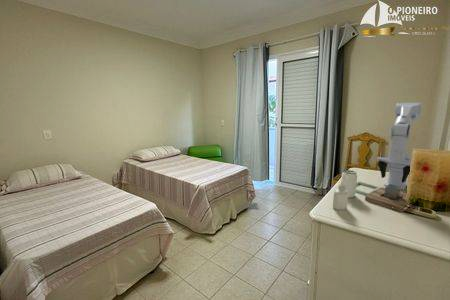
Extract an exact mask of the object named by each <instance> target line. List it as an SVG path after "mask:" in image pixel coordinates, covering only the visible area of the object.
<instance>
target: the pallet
mask: <svg viewBox="0 0 450 300" xmlns="http://www.w3.org/2000/svg"><path fill="white" fill-rule="evenodd" d="M384 194H385V187H384V186H383V187H381V188H380V189H378V190H376V191H374V192H372V193H370V194H368V195H365V197H364V200H365V201H366V202H370V203H372V204H376V205H380V206H382V207H385V208H387V209H392V210H394V211H398V212H401V213H404V212H405V211H404V208H405V207H406V206H407V205H409V204H410V202H407V201H406V194H407V193H405V192H402V191H400V195H399V201H395V200H392V199H388V198H385V197H384ZM392 207H393V208H392Z"/></svg>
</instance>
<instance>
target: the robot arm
mask: <svg viewBox="0 0 450 300" xmlns="http://www.w3.org/2000/svg"><path fill="white" fill-rule="evenodd" d="M422 108H423V102H421V101H420V102H397V103H396V105H395V110H394V112H395V113H394V114H395V120H394V121H395V122H394V124H392V125H391V127H390V133H389V135H390V137H389V138H390V139H389V140H390V145H389V150H388V157H381V156H377V157H376V163H377V165H378V168H379V171H380V175H381V178H382V179H383V178H386V174H387V169H388V177H387V182H386V183H384V184H383V186H384V187H386V186H387V185H389V184H393V185H397V186H401V188H400V191H401V190H404V189H406V188H407V187H408V186H407V185H408V184H407V182H408V177H409V175H410V174H409V172H410V161H411V156H412V155H411V154H409V152H408V147H409V140H410V135H411V130H412V125H413V124H414V122H416V121H418V120H419V119H420V117H421V114H422ZM410 173H411V172H410ZM406 186H407V187H406Z"/></svg>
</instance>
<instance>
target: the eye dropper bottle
mask: <svg viewBox="0 0 450 300" xmlns="http://www.w3.org/2000/svg"><path fill="white" fill-rule="evenodd" d="M332 198H333V200H332V201H333V202H332V208H333V209H335V210H337V211H345V210H347V209H348V203H349V198H348V191H346V190H345V185H344V184H343V182H341V181H340V183H339V184H338V188H337V189H335V190H334V192H333V197H332Z"/></svg>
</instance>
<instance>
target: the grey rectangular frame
mask: <svg viewBox="0 0 450 300" xmlns="http://www.w3.org/2000/svg"><path fill="white" fill-rule="evenodd" d="M358 185H361V186H366V187H369V188H373V189H372V190H370V191H369V192H367V191H363V190H361V189H357V188H356V192H355V193H359V194H361V195H365V196H366V195H368V194H370V193H372V192H374V191H376V190H378V189H380V188H382V187H381V186H378V185H374V184H371V183H367V182H363V181H360V180H359V181H358V180H357V183H356V186H358Z"/></svg>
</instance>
